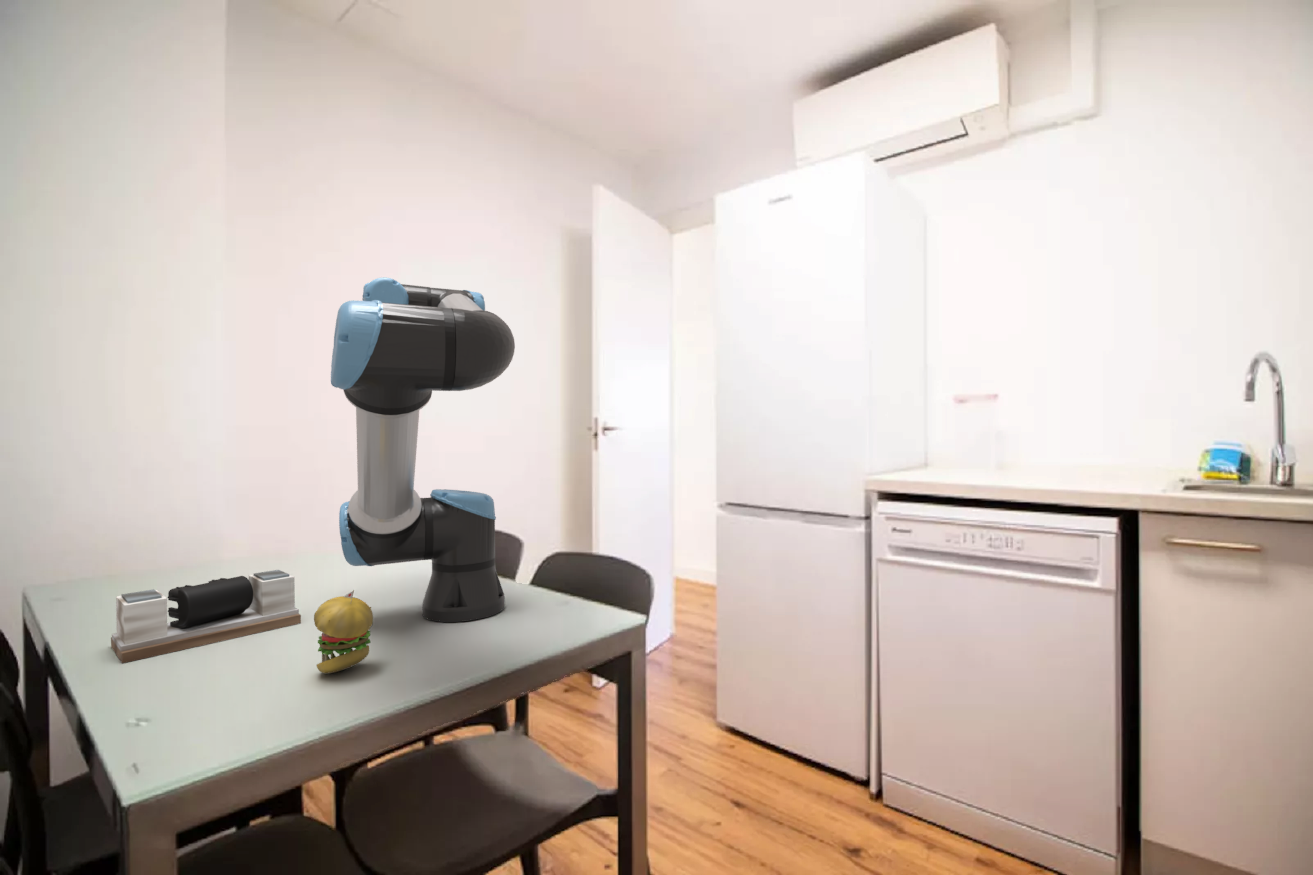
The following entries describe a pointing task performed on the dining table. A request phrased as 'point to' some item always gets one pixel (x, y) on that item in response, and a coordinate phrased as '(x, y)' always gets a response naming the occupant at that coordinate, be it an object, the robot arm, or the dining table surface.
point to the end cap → (210, 601)
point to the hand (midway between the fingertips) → (384, 461)
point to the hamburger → (343, 632)
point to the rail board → (152, 635)
